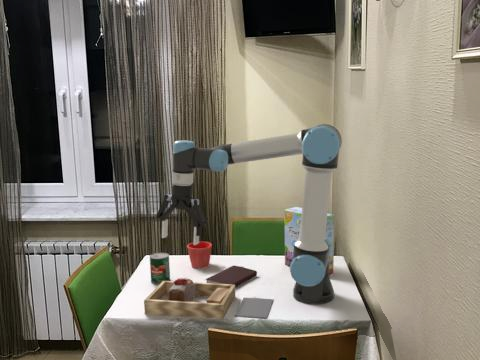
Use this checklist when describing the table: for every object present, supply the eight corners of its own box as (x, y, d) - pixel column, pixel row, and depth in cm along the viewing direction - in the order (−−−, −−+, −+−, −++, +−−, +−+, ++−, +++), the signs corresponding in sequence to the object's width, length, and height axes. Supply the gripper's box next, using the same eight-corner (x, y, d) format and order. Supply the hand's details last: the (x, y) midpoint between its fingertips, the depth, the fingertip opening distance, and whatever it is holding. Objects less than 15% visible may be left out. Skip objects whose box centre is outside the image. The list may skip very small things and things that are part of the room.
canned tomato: (169, 276, 217) (168, 251, 215) (171, 283, 210) (170, 257, 208) (150, 278, 215) (148, 253, 214) (151, 285, 208) (150, 259, 206)
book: (257, 277, 216) (257, 270, 215) (230, 292, 200) (229, 284, 200) (233, 272, 223) (233, 265, 223) (205, 286, 207) (204, 278, 207)
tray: (235, 297, 194) (235, 284, 193) (223, 319, 175) (223, 305, 174) (163, 293, 199) (163, 280, 199) (144, 313, 181) (144, 300, 180)
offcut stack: (231, 299, 192) (230, 287, 191) (221, 316, 177) (221, 303, 177) (215, 298, 193) (214, 286, 192) (204, 315, 179) (203, 302, 178)
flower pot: (198, 271, 223) (197, 249, 221) (183, 265, 231) (182, 244, 230) (217, 265, 230) (216, 244, 229) (202, 260, 238) (201, 240, 237)
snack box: (283, 266, 228) (282, 209, 224) (296, 261, 234) (296, 206, 230) (321, 278, 212) (322, 217, 208) (334, 272, 218) (335, 213, 214)
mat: (272, 300, 190) (272, 299, 190) (266, 318, 175) (266, 317, 175) (243, 298, 192) (243, 297, 192) (234, 316, 177) (234, 315, 177)
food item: (176, 297, 195) (175, 272, 194) (196, 298, 194) (196, 273, 192) (166, 312, 182) (165, 285, 180) (188, 313, 181) (187, 286, 179)
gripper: (147, 180, 186) (146, 236, 190) (207, 190, 176) (204, 249, 180) (159, 177, 193) (157, 232, 197) (218, 187, 183) (214, 244, 187)
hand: (180, 240), depth 188 cm, fingers open, 13 cm apart
